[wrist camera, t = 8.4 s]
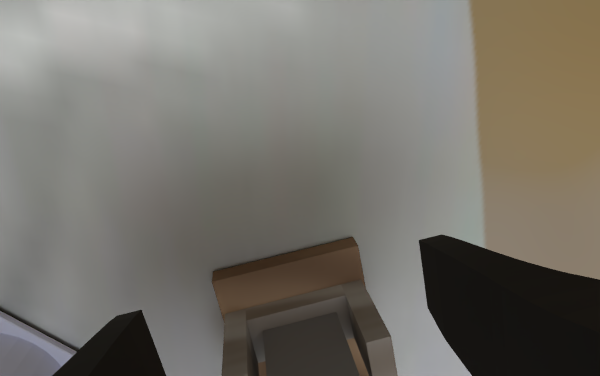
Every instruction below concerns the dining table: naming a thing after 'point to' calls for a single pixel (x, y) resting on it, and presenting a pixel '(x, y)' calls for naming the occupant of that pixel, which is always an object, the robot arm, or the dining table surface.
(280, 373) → the grey rectangular block
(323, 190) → the dining table surface
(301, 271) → the cradle
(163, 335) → the dining table surface
